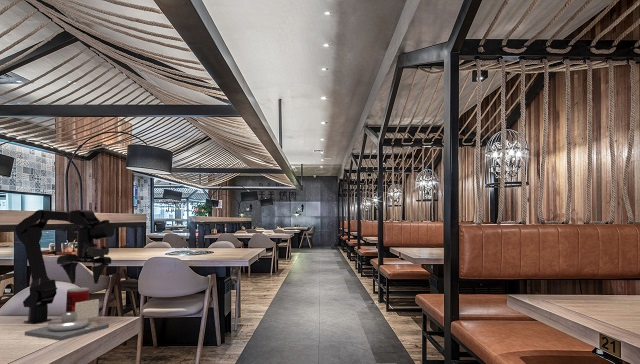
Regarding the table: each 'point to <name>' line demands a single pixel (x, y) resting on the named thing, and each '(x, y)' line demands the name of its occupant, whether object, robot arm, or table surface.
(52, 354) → the table surface
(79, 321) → the dial
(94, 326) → the panel
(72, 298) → the canned food
